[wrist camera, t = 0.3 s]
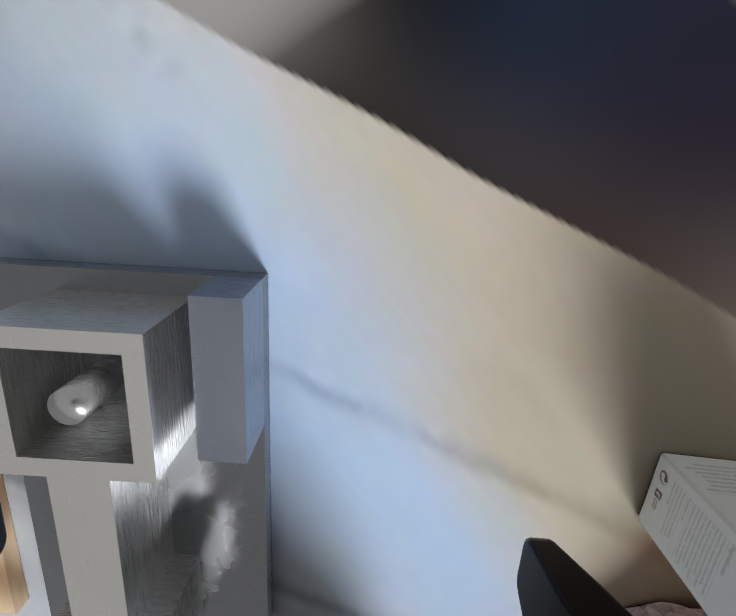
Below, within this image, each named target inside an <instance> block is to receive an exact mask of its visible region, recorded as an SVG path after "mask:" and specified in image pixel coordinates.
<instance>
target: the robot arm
mask: <svg viewBox="0 0 736 616" xmlns="http://www.w3.org/2000/svg"><path fill="white" fill-rule="evenodd" d="M6 539H7V533H6V527H5V522H4V517H3V511H2V506H1V502H0V554H1V553H2V551H3V549H4V547H5V544H6ZM517 588H518V595H519V600H520V605H521V610H522V615H523V616H633V615H632V614H631V613H630V612H629V611H628V610H627V609H626V608H625V607H623V606H622V605H621V604H620V603H619V602H618V601H617V600H616V599H615V598H614V597H613V596H612V595H611V594H609V593H608V592H607V591H606V590H605V589H604V588H603V587H602V586H601V585H600V584H599V583H598V582H597V581H596V580H594V579H593V578H592V577H591V576H590V575H589V574H588V573H587V572H586V571H585V570H584V569H583V568H582V567H580V566H579V565H578V564H577V563H576V562H575V561H574V560H573V559H572V558H571V557H570V556H569V555H568V554H567V553H565V552H564V551H563V550H562V549H561V548H560V547H559V546H558V545H557V544H556V543H555V542H553V541H552V540H550V539H544V538H531V537H530V538H527V539H526V540H525V542H524V545H523V550H522V555H521V560H520V565H519V570H518V575H517Z"/></svg>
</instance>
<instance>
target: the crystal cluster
mask: <svg viewBox="0 0 736 616" xmlns="http://www.w3.org/2000/svg"><path fill="white" fill-rule="evenodd" d="M626 609H627V610H628V611H629V612H630V613H631V614H632V615H633V616H708V615H707V614H706V613H705V611H704V610H703V609H689V608H687V607H684V606H681V605H678V604H674V603H668V602H657V603H651V604H646V605H642V606H637V607H630V608H626Z"/></svg>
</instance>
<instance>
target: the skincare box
mask: <svg viewBox="0 0 736 616" xmlns="http://www.w3.org/2000/svg"><path fill="white" fill-rule="evenodd" d="M639 521H640V523H641V524H642V526H643V527H644V529H645V530H646V531H647V532H648V534H649V535H650V536H651V538H652V539H653V541H654V542H655V543H656V545H657V546H658V548H659V549H660V550H661V552H662V553H663V554H664V556H665V557H666V559H667V560H668V561H669V563H670V564H671V566H672V567H673V568H674V570H675V571H676V573H677V574H678V575H679V577H680V578H681V579H682V581H683V582H684V584H685V585H686V586H687V588H688V589H689V590H690V592H691V593H692V595H693V596H694V597H695V599H696V600H697V602H698V603H699V604H700V606H701V607H702V608H703V610H704V611H705V613H706V614H707V615H708V616H736V461H731V460H722V459H713V458H704V457H694V456H686V455H676V454H668V453H663V454H662V455H661V456H660V459H659V462H658V464H657V467H656V470H655V473H654V476H653V479H652V482H651V484H650V487H649V490H648V493H647V496H646V499H645V501H644V504H643V506H642V509H641V512H640V515H639Z"/></svg>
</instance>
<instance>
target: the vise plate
mask: <svg viewBox="0 0 736 616" xmlns="http://www.w3.org/2000/svg"><path fill="white" fill-rule="evenodd" d="M54 289H59V290H76V291H93V292H110V293H127V294H144V295H161V296H178V297H187V298H188V313H189V329H190V344H191V359H192V374H193V389H194V404H195V420H196V428H195V429H194V431H193V432H192V434H191V435H190V437H189V438H188V439H187V441H186V442H185V444H184V445H183V447H182V448H181V450H180V451H179V452H178V454H177V455H176V457H175V458H174V460H173V461H172V463H171V464H170V466H169V467H168V468H167V474H168V485H169V496H170V507H171V518H172V529H173V540H174V551H175V554H189V555H200V568H201V583H202V597H203V611H204V614H203V616H272V585H271V499H270V414H269V328H268V273H253V272H236V271H219V270H202V269H184V268H167V267H150V266H133V265H116V264H98V263H81V262H64V261H47V260H30V259H13V258H0V311H1V310H3V309H6V308H8V307H11V306H13V305H16V304H18V303H21V302H24V301H26V300H29V299H31V298H34V297H36V296H39V295H41V294H44V293H46V292H49V291H51V290H54ZM82 358H83V365H84V371H83V372H82V373H81V374H79V375H78V376H76V377H75V378H73V379H72V380H71V381H69V382H68V383H66V384H65V385H64V386H62V387H61V388H59V389H58V390H57V391H55V392H54V393H52V394H51V395H50V396H49V398H48V401H47V408H48V411H49V413H50V414H51V416H52V417H53V418H54V419H55V420H57V421H58V422H60V423H62V424H65V425H76V424H79V423H80V422H82V421H83V420H84V419H85V418H86V417H87V416H89V415H90V414H91V413H92V412H93V411H94V410H95V409H97V408H98V407H99V406H100V405H101V404H102V403H103V402H105V401H106V400H107V399H108V400H124V401H126V392H125V383H124V374H123V366H122V357H121V355H112V354H96V353H82ZM23 476H24V481H25V486H26V491H27V496H28V501H29V506H30V511H31V516H32V521H33V526H34V531H35V536H36V541H37V546H38V551H39V556H40V561H41V566H42V571H43V576H44V581H45V586H46V591H47V596H48V601H49V606H50V611H51V616H57V614H58V613H59V612H60V610H61V609H62V607H63V606H64V605H65V603H66V602H67V600H68V599H69V598H68V593H67V587H66V582H65V576H64V571H63V565H62V560H61V554H60V549H59V543H58V538H57V532H56V527H55V521H54V516H53V510H52V505H51V499H50V494H49V488H48V483H47V478H46V477H44V476H28V475H23Z"/></svg>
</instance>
